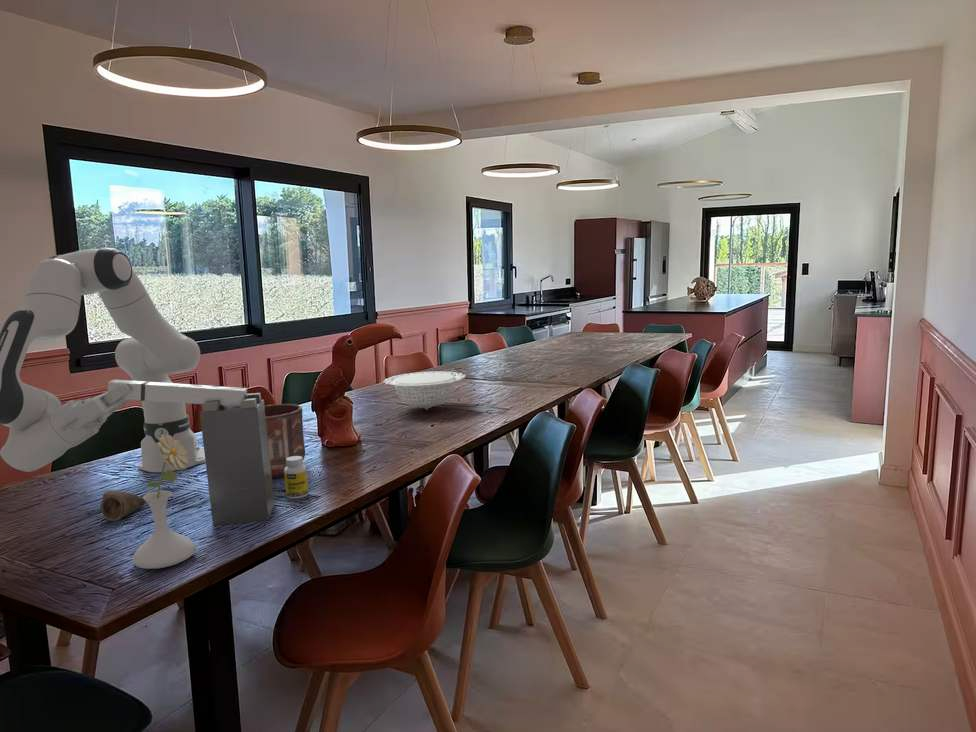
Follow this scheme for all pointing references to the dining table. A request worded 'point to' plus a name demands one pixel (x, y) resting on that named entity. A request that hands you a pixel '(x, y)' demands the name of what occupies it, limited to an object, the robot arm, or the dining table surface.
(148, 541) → the flower in vase
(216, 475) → the block
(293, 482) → the supplement bottle
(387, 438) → the dining table surface
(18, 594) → the dining table surface
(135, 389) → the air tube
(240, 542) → the dining table surface
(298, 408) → the pottery
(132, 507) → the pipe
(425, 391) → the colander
